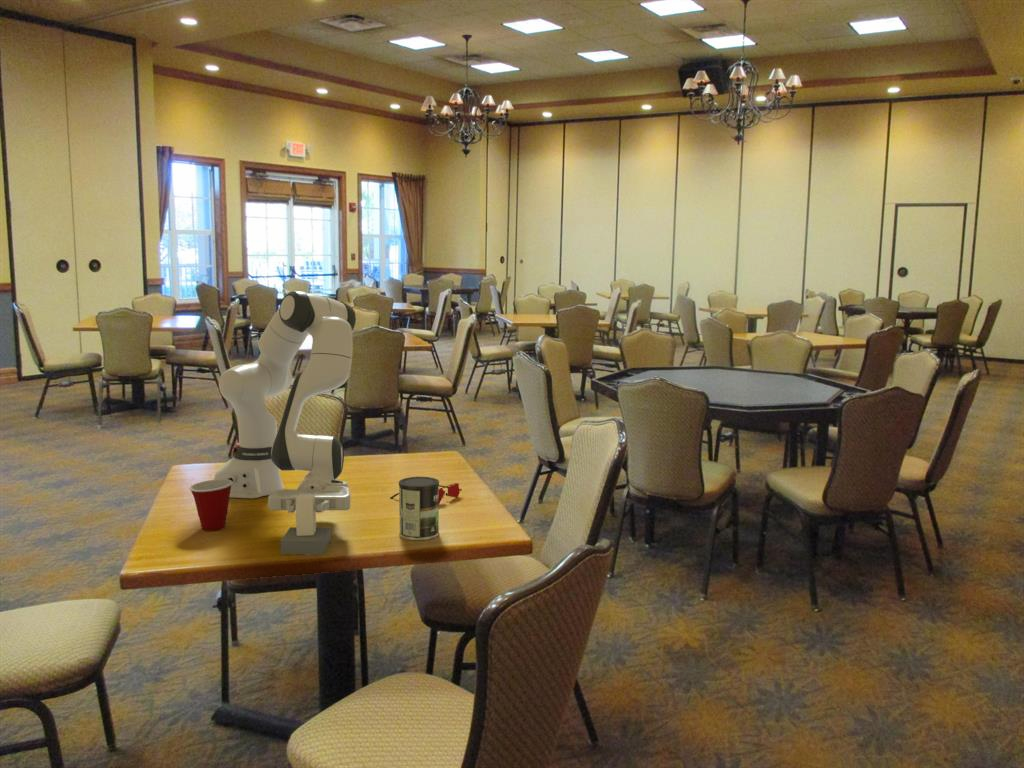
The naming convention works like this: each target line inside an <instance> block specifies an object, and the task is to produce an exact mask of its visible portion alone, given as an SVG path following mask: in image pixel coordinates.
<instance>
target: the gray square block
mask: <svg viewBox="0 0 1024 768" xmlns="http://www.w3.org/2000/svg"><path fill="white" fill-rule="evenodd" d="M331 531H332V530H331V527H316V532H315V534H314V535H308V536H297V530H296V527H295V526H294V527H291V526H290V527H289V528H288V530H287V532H286V533H285V534H284V535H283V537H282V538H281V540H280V555H281V554H311V555H310V556H324V554H325V552H326V551H325V550H327V549H328V547H329V546H330V544H331V542H330V541H331V540H332V539H331V537H332V536H331ZM329 543H330V544H329ZM312 554H313V555H312ZM314 554H315V555H314Z"/></svg>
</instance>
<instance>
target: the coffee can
mask: <svg viewBox="0 0 1024 768" xmlns="http://www.w3.org/2000/svg"><path fill="white" fill-rule="evenodd" d="M439 485H440V480H438V479H437V478H435V477H430V476H409V477H405V478H402V479H400V480H399V481H398V486H399V489H398V490H399V492H398V493H399V494H398V496H399V498H398V499H399V508H398V509H399V536H401V537H400V538H402V539H404V538H405V540H408V541H426V540H432V539H434V538H437V537H438V536H439V535H440V534H439V533H440V532H439V528H440V527H439V519H440V518H439V510H440V509H439V505H440V503H439V489H440V486H439Z"/></svg>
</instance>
